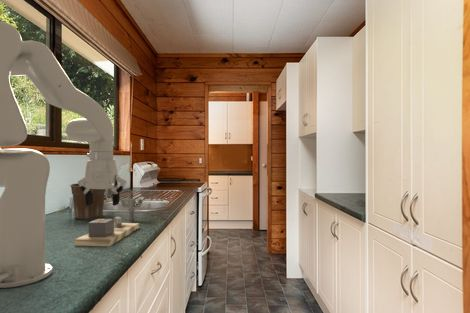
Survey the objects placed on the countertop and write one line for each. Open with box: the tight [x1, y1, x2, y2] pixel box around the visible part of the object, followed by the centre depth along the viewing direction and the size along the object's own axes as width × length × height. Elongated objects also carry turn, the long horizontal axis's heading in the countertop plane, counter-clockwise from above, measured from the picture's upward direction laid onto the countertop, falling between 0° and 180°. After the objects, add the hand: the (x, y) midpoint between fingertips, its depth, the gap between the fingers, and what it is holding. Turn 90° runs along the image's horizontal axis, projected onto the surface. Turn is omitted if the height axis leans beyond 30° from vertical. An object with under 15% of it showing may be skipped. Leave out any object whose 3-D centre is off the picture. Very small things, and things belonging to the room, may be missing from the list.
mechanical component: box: [120, 197, 143, 222], centre depth 133 cm, size 3×10×10 cm, turn 78°
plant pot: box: [69, 182, 107, 221], centre depth 141 cm, size 16×16×16 cm
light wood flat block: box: [74, 216, 140, 247], centre depth 108 cm, size 24×12×6 cm, turn 175°
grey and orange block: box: [88, 218, 114, 237], centre depth 102 cm, size 6×6×5 cm
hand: (102, 204), depth 103 cm, fingers open, 9 cm apart
